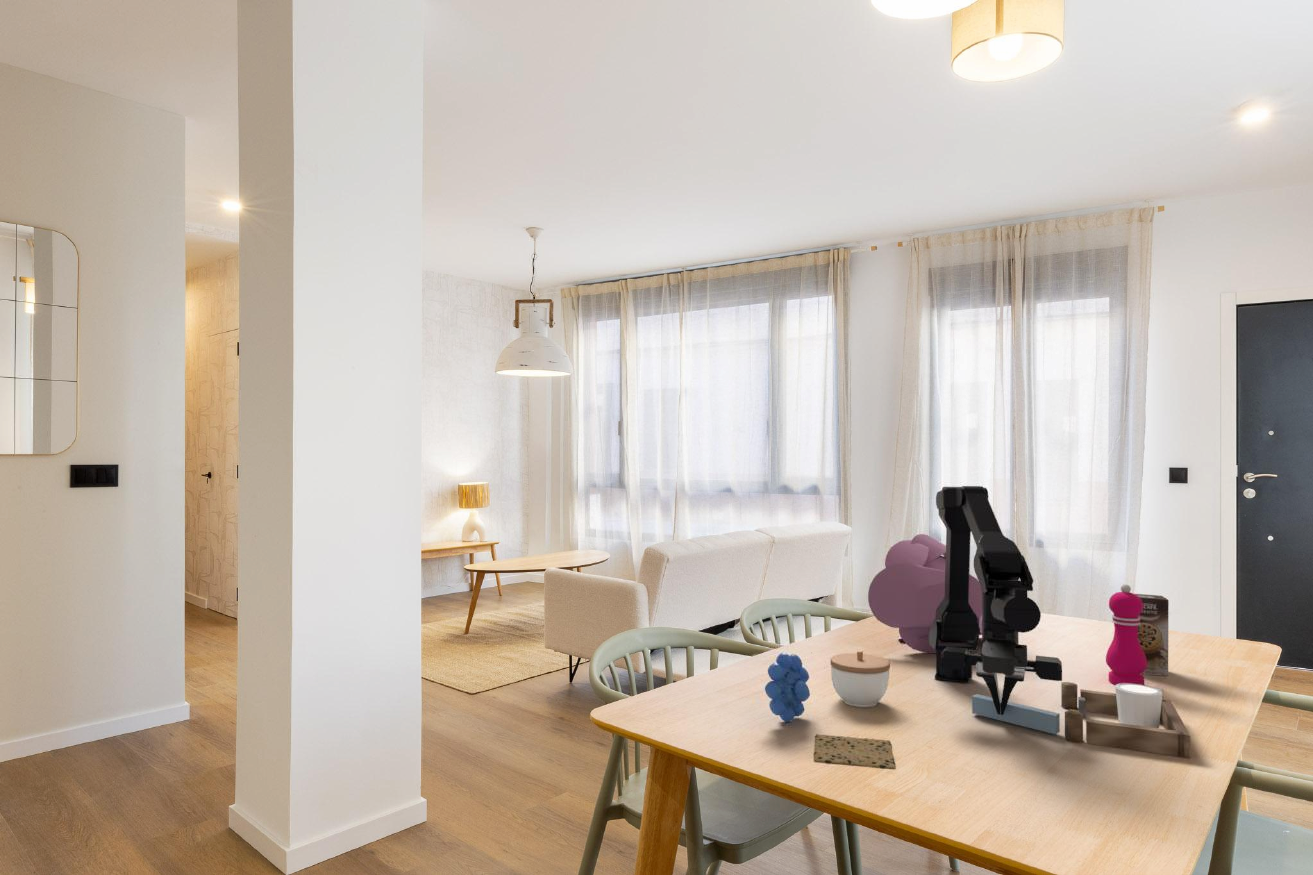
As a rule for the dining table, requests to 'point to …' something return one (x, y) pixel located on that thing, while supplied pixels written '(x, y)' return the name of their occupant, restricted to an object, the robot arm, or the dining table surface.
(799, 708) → the grapes
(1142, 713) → the white cup
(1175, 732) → the fence
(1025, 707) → the gate
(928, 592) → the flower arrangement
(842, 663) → the lidded jar
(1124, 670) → the pepper mill
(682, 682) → the dining table surface
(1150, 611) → the dark tall box
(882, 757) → the cookie
